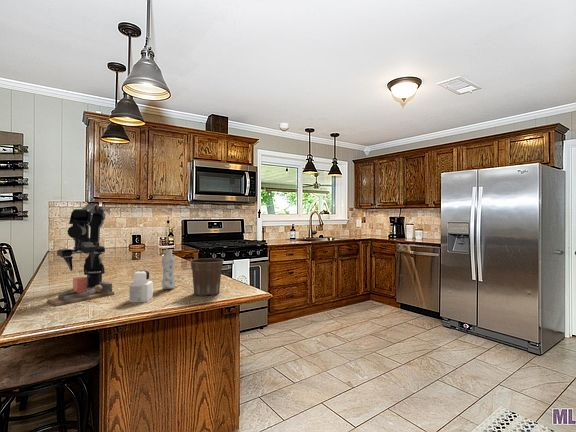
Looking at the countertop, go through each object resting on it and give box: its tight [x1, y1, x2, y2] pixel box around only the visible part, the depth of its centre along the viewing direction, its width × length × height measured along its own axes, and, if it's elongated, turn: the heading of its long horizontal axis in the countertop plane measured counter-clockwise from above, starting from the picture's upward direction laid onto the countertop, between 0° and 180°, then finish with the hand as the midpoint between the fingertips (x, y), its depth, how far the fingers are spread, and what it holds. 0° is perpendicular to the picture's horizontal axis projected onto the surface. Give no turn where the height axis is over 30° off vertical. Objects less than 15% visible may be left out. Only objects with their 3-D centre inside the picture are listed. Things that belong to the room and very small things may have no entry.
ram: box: [72, 276, 95, 295], centre depth 154 cm, size 8×4×8 cm, turn 146°
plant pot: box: [189, 257, 225, 297], centre depth 165 cm, size 16×16×16 cm
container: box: [128, 269, 154, 303], centre depth 151 cm, size 8×8×13 cm
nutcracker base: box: [46, 280, 115, 307], centre depth 153 cm, size 24×10×5 cm, turn 146°
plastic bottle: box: [161, 249, 176, 290], centre depth 172 cm, size 6×7×20 cm
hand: (82, 269), depth 158 cm, fingers open, 9 cm apart
